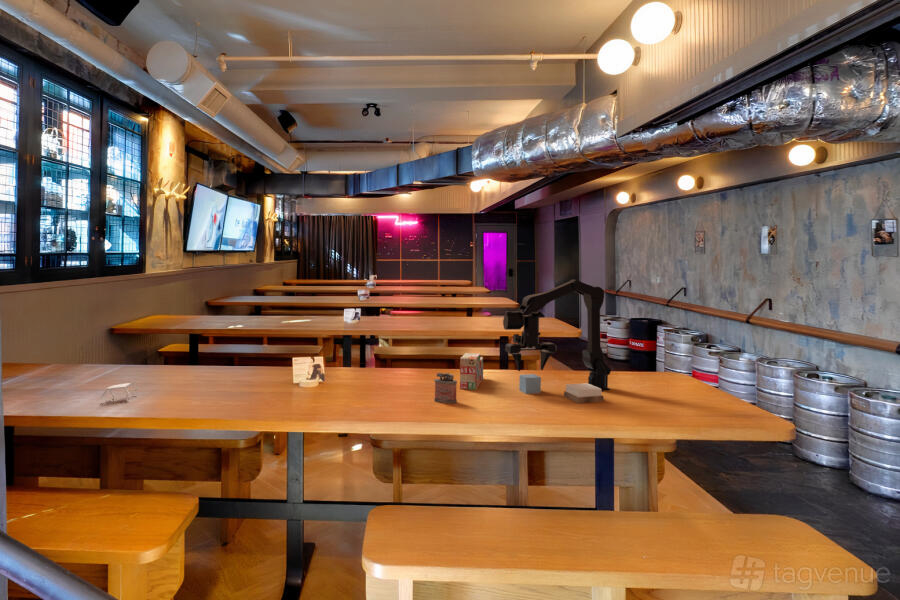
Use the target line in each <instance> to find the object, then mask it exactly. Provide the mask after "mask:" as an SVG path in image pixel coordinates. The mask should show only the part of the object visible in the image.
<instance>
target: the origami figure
mask: <svg viewBox="0 0 900 600" xmlns="http://www.w3.org/2000/svg"><path fill="white" fill-rule="evenodd" d="M130 386H132V387H133V388H135V390H134V391H133V392H132V393H130V392H129V390H128V388H129V387H130ZM121 389H124V390H125V392H126V394H127V395H126V396H125V401H126V402H128V401H129V399H128V397H129V396H130V394H131V396H133V397H136V395H135V393H136V392H137V391H138V390H139V389H140V388H139V387H137V385H135V383H134V382H126V383H120V384H119V383H118V384H115V385H111V386H109V387H106V388H104V391H103V393H102V395H101V396H100V399H102V400H105V402H106V403H107V402H109V399H108V398H104V397H105V395H106V393H107V392H109V393H110V394H111V396H112V401H113V400H114V399H115V394H114V393H113V390H121Z"/></svg>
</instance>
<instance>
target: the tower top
mask: <svg viewBox="0 0 900 600" xmlns="http://www.w3.org/2000/svg"><path fill="white" fill-rule="evenodd" d="M565 391H566V392H568V393H571V394H573V395H575V396H577V397H590V396H601V395H602V391H603V390H602V389H601V388H598V387H596V386H593V385H591V384H588V383H587V382H586V383H573V384H572V383H570V384H569V383H568V384H565Z"/></svg>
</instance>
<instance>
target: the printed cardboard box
mask: <svg viewBox="0 0 900 600" xmlns="http://www.w3.org/2000/svg"><path fill="white" fill-rule="evenodd" d="M483 379H484V357H483V356H481V353H480V352H477V353H476V352H465V353H464V354H463V355H462V356H461V357H460V358H459V390H471V391H472V390H473V391H474V390H475V391H476V390H477V389H478V387H479V386H480V383H481V382H482V381H483Z"/></svg>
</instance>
